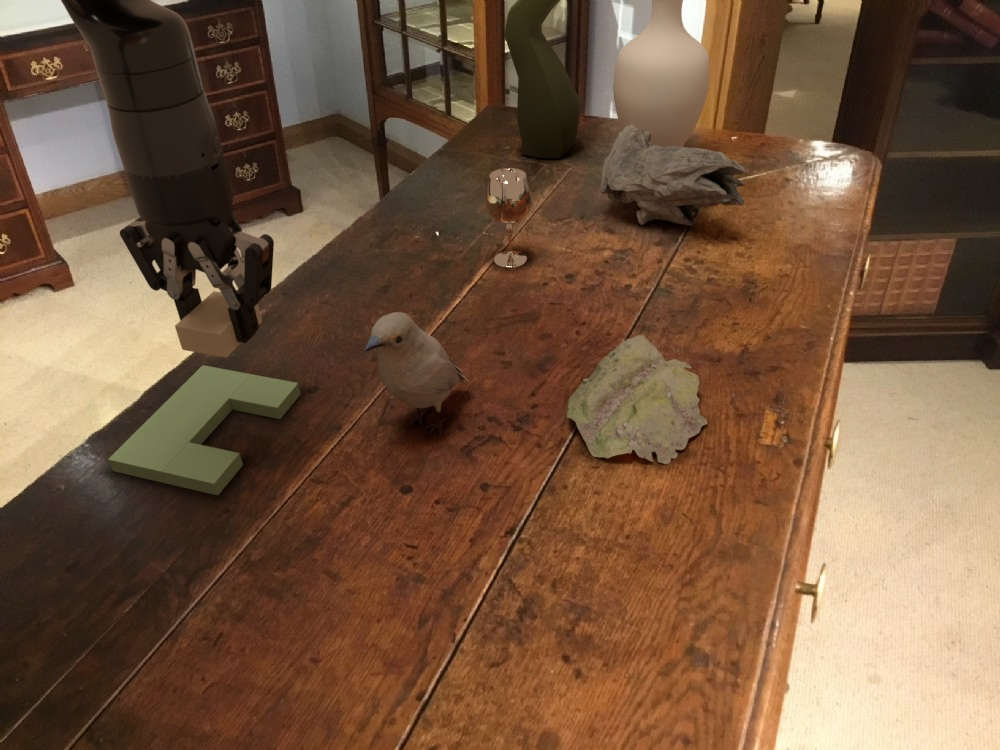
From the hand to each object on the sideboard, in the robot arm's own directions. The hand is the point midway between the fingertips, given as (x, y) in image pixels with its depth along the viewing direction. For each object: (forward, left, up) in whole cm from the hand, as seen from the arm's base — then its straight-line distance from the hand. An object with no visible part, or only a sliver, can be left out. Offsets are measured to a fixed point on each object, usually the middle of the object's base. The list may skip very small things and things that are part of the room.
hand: (222, 332), depth 77 cm
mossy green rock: (+16, -35, -14) cm, 41 cm away
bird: (+8, -15, -14) cm, 22 cm away
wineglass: (+43, -13, -14) cm, 47 cm away
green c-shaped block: (+1, +6, -14) cm, 15 cm away
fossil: (+60, -31, -14) cm, 69 cm away
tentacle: (+80, -7, -14) cm, 82 cm away
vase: (+79, -26, -14) cm, 85 cm away
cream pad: (0, 0, 0) cm, 0 cm away
